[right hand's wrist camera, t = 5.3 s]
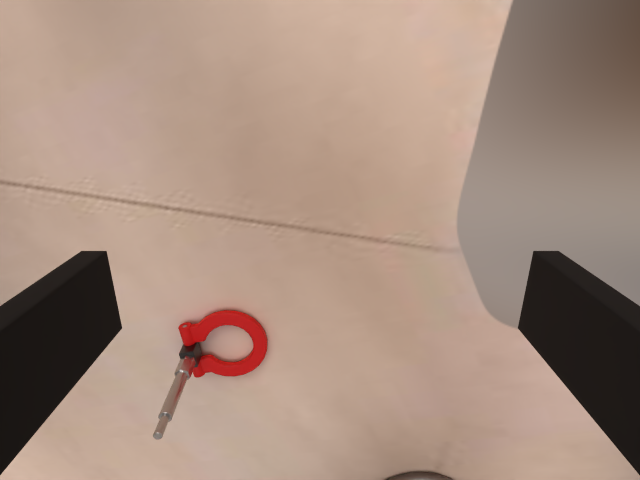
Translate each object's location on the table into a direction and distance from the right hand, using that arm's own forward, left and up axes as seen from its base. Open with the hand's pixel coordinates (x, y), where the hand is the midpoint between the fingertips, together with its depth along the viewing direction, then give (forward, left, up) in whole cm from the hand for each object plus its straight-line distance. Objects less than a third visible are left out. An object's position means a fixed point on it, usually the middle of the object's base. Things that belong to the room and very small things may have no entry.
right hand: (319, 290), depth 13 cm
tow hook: (-21, +11, -28) cm, 37 cm away
